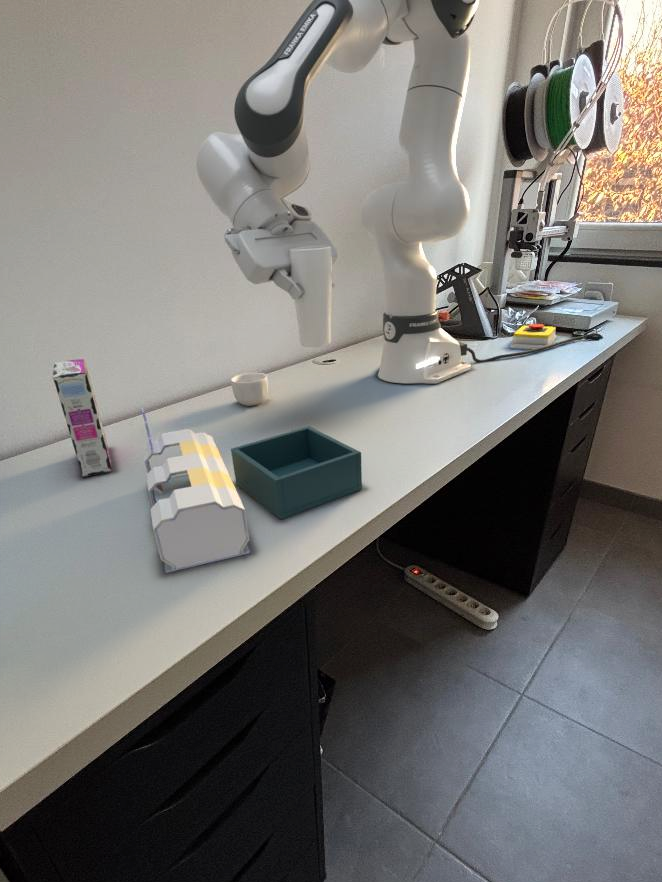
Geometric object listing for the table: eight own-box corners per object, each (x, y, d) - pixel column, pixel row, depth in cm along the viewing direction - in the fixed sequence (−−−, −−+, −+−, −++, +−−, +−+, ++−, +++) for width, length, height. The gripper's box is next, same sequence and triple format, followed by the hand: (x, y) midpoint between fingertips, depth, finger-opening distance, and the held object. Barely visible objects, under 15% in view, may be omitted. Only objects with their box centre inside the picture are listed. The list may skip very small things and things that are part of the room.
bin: (311, 459, 86) (309, 425, 83) (362, 489, 76) (361, 452, 73) (236, 484, 80) (230, 448, 77) (280, 519, 70) (275, 480, 67)
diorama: (151, 484, 82) (131, 402, 75) (217, 471, 84) (203, 391, 78) (164, 573, 61) (138, 471, 55) (251, 552, 64) (236, 452, 57)
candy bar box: (114, 471, 87) (87, 372, 78) (82, 478, 85) (50, 377, 77) (109, 448, 96) (84, 356, 88) (80, 454, 94) (51, 361, 86)
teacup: (257, 410, 109) (253, 384, 107) (226, 406, 113) (223, 381, 110) (281, 395, 117) (279, 371, 114) (252, 392, 120) (250, 368, 118)
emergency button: (559, 321, 146) (548, 332, 135) (556, 337, 148) (545, 350, 137) (524, 319, 150) (510, 330, 139) (522, 335, 152) (508, 347, 141)
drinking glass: (331, 349, 87) (327, 248, 80) (291, 349, 89) (283, 250, 81) (338, 340, 93) (334, 244, 86) (301, 340, 94) (294, 247, 87)
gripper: (226, 213, 78) (282, 287, 77) (314, 207, 91) (361, 270, 91) (211, 247, 82) (263, 317, 82) (296, 237, 96) (341, 297, 95)
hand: (315, 292), depth 86 cm, fingers closed on drinking glass, 6 cm apart
